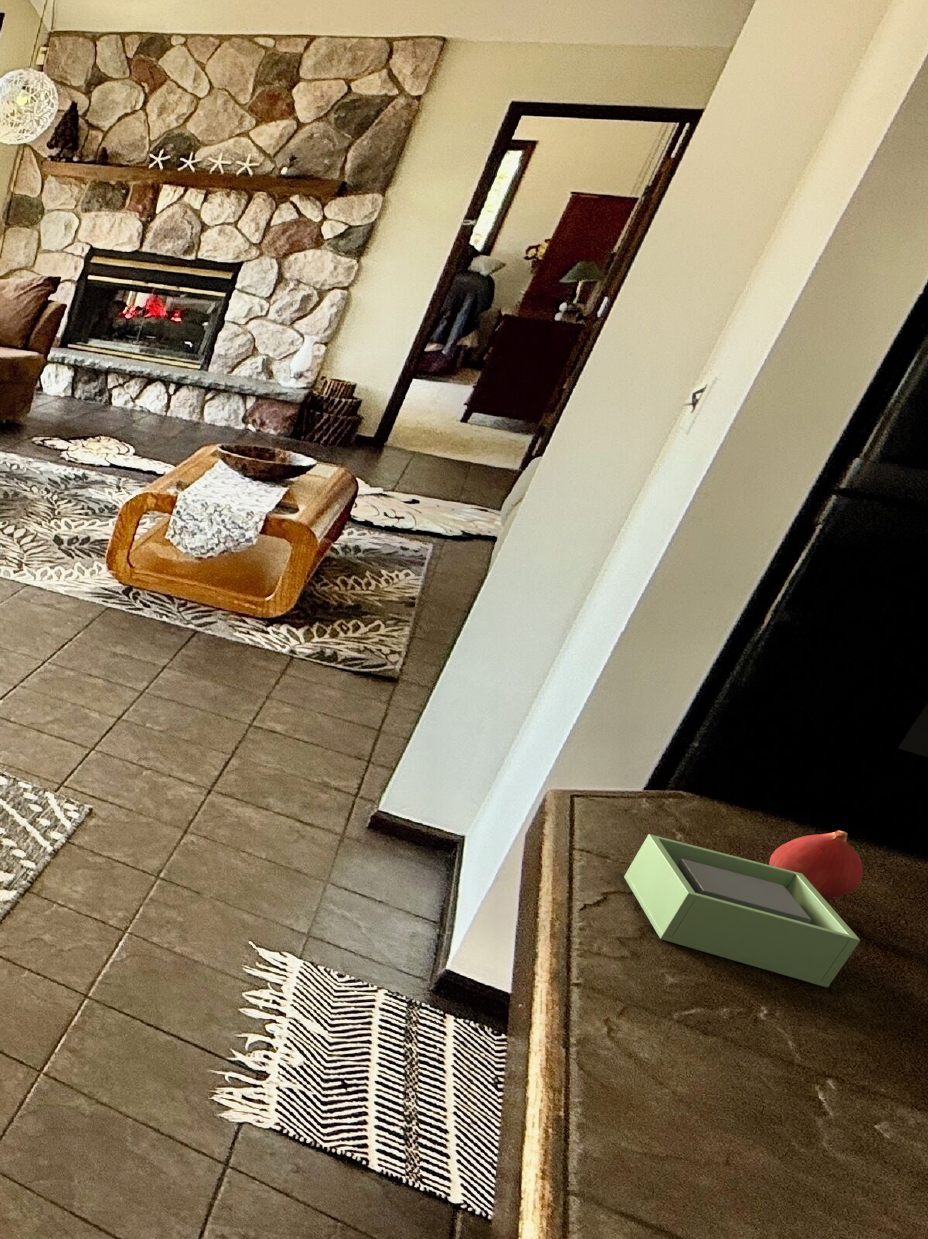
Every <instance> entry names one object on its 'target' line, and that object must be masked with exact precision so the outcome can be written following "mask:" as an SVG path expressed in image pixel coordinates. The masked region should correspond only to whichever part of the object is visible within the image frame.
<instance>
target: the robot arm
mask: <svg viewBox="0 0 928 1239" xmlns="http://www.w3.org/2000/svg"><path fill="white" fill-rule="evenodd" d="M897 749H899V750H902V751H906V752H908V753H912V754H915V755H919V756H922V757H926V758H928V702H927V703H926V704H925V706H924V707H923V709H922V711H921V712H920V714H919V715H918V716H917V718H916V720H915V721H914V723H913V724H912V726H911V727H910V729H909V730H908V732H907V733H906V735H905V736H904V738H903V739H902V741H901V742H900V744H899V745H898V747H897Z"/></svg>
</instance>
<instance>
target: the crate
mask: <svg viewBox="0 0 928 1239" xmlns="http://www.w3.org/2000/svg"><path fill="white" fill-rule="evenodd" d="M681 859H686V860H689V861H693V862H697V863H701V864H704V865H708V866H712V867H716V868H720V869H723V870H727V871H731V872H735V873H739V874H742V875H746V876H750V877H754V878H757V879H761V880H765V881H769V882H773V883H776V884H780V885H783V886H784V887H785V888H786V889H787V891H788V892H789V893H790V894H791V895H792V897H793V898H794V899H795V900H796V901H797V903H798V904H799V905H800V906H801V908H802V909H803V910H804V911H805V912H806V914H807V915H808V916H809V917H810V918H811V922H810V923H809V924H808V923H804V922H800V921H797V920H793V919H789V918H786V917H782V916H778V915H775V914H771V913H767V912H764V911H760V910H757V909H753V908H749V907H746V906H742V905H738V904H735V903H731V902H727V901H724V900H720V899H716V898H713V897H709V896H705V895H702V894H698V893H695V892H694V890H693V889H692V887H691V886H690V884H689V883H688V881H687V880H686V878H685V877H684V876H683V874H682V873H681V871H680V870H679V868H678V867H677V865H678V864H679V862H680V860H681ZM623 878H624V880H625V881H626V884H628V887H629V888H630V890H631V891H632V893H633V895H634V896H635V898H636V900H637V902H638V903H639V905H640V907H641V909H642V911H643V912H644V913H645V915H646V917H647V919H648V921H649V922H650V924H651V926H652V927H653V930H654V931H655V932H656V934H657V936H658V938H659V939H660V940H661V941H665V942H669V943H672V944H676V945H679V946H683V947H686V948H690V949H694V950H695V951H701V952H704V953H707V954H709V955H713V956H717V957H720V958H724V959H728V960H730V961H734V962H737V963H741V964H745V965H748V966H751V967H755V968H758V969H762V970H765V971H769V972H771V973H775V974H779V975H782V976H786V977H788V978H789V977H790V978H792V979H797V980H800V981H803V982H806V983H810V984H812V985H813V984H814V985H817V986H820V987H824V988H828V989H829V987H830V985H831V983H832V982H833V981H834V979H835V978H836V976H837V975H838V974H839V972H840V971H841V969H842V968H843V966H844V965H845V964H846V962H847V961H848V959H849V958H850V957H851V955H852V953H853V952H854V950H855V949H856V948H857V946H858V945H859V943H860V942H861V939H860V938H859V937H858V936H857V934H856V933H855V932H854V931H853V930H852V929H851V927H850V926H849V925H848V924H847V923H846V922H845V921H844V920H843V918H842V917H841V916H840V915H839V914H838V912H836V911H835V909H834V908H833V907H832V906H831V905H830V903H828V901H827V899H824V898H823V897H822V896H821V895H820V893H819V892H818V891H817V890H816V889H815V888H814V887H813V885H812V884H811V883H810V882H809V881H808V880H807V879H806V877H805V876H804V875H803V874H801V873H798V872H793V871H790V870H786V869H782V868H778V867H775V866H771V865H769V864H766V863H764V862H763V863H762V862H758V861H755V860H751V859H748V858H743V857H740V856H735V855H732V854H728V853H724V852H721V851H716V850H713V849H708V848H706V847H701V846H697V845H694V844H689V843H685V842H682V841H677V840H674V839H670V838H667V837H663V836H658V835H654V834H650V833H648V834H647V836H646V838H645V840H644V841H643V843H642V845H641V847H640V848H639V850H638V852H637V853H636V855H635V857H634V859H633V860H632V862H631V864H630V865H629V867H628V869H627V871H626V873H625V874H624V875H623Z"/></svg>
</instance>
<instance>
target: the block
mask: <svg viewBox="0 0 928 1239" xmlns="http://www.w3.org/2000/svg"><path fill="white" fill-rule="evenodd" d="M677 867H678V868H679V870H680V871H681V873H682V874H683V876H684V877H685V878H686V880H687V881H688V883H689V884H690V886H691V887H692V889H693V890H694V892H695V893H698V894H702V895H705V896H709V897H713V898H716V899H720V900H724V901H727V902H731V903H735V904H738V905H742V906H746V907H749V908H753V909H757V910H760V911H764V912H767V913H771V914H775V915H778V916H782V917H786V918H789V919H793V920H797V921H800V922H804V923H808V924H809V923H810V922H811V918H810V917H809V916H808V915H807V914H806V912H805V911H804V910H803V909H802V908H801V906H800V905H799V904H798V903H797V901H796V900H795V899H794V898H793V897H792V895H791V894H790V893H789V892H788V891H787V889H786V888H785V887H784V886H783V885H780V884H776V883H773V882H769V881H765V880H761V879H757V878H754V877H750V876H746V875H742V874H739V873H735V872H731V871H727V870H723V869H720V868H716V867H712V866H708V865H704V864H701V863H697V862H693V861H689V860H686V859H681V860H680V862H679V864H678V865H677Z"/></svg>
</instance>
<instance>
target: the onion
mask: <svg viewBox="0 0 928 1239" xmlns="http://www.w3.org/2000/svg"><path fill="white" fill-rule="evenodd" d="M847 839H848V833H847V832H846V831H842V830H836V831H834V832H828V833H822V834H809V835H803V836H799V837H797V838H794V839H792V840H790V841H787V842H785V843H783V844H781V845H780V846H779V847H777V848H776V849H775V850H774V851H773V852H772V854H771V855H770V858H769V862H768V865H771V866H775V867H778V868H782V869H786V870H790V871H793V872H798V873H801V874H803V875H804V876H805V877H806V879H807V880H808V881H809V882H810V883H811V884H812V885H813V887H814V888H815V889H816V890H817V891H818V892H819V893H820V895H821V896H822V897H823V898H824V899H825V900H827V899H833V898H839V897H843V896H845V895H847V894H850V893H852V892H854V891H855V890H856V889H857V888H858V887H859V886H860V885H861V882H862V881H863V879H864V867H863V861H862V859H861V857H860V855H859V853H858V852H857V851H856V850H855V849H854V848H853V847H852V846H851V845H850V844H849V843H848V841H847Z"/></svg>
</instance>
